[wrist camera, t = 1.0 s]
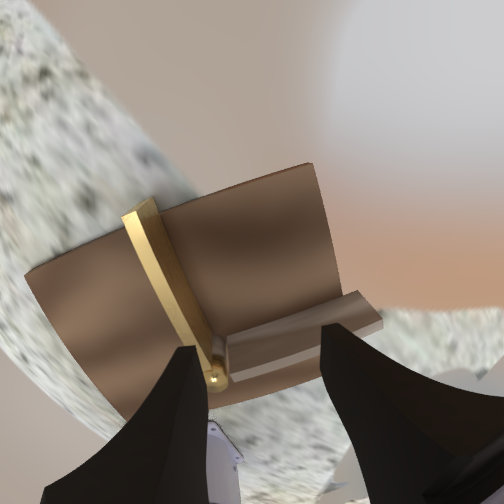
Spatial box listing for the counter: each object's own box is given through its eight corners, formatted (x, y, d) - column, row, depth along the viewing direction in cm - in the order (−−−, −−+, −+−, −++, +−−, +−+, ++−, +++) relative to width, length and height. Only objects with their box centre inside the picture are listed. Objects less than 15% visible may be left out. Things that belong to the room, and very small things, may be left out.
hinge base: (361, 351, 24) (384, 388, 19) (130, 416, 24) (122, 454, 19) (324, 157, 18) (360, 163, 13) (30, 270, 18) (-5, 300, 13)
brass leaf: (229, 351, 21) (232, 388, 17) (206, 358, 21) (206, 395, 17) (160, 193, 16) (145, 207, 13) (133, 204, 16) (112, 220, 13)
